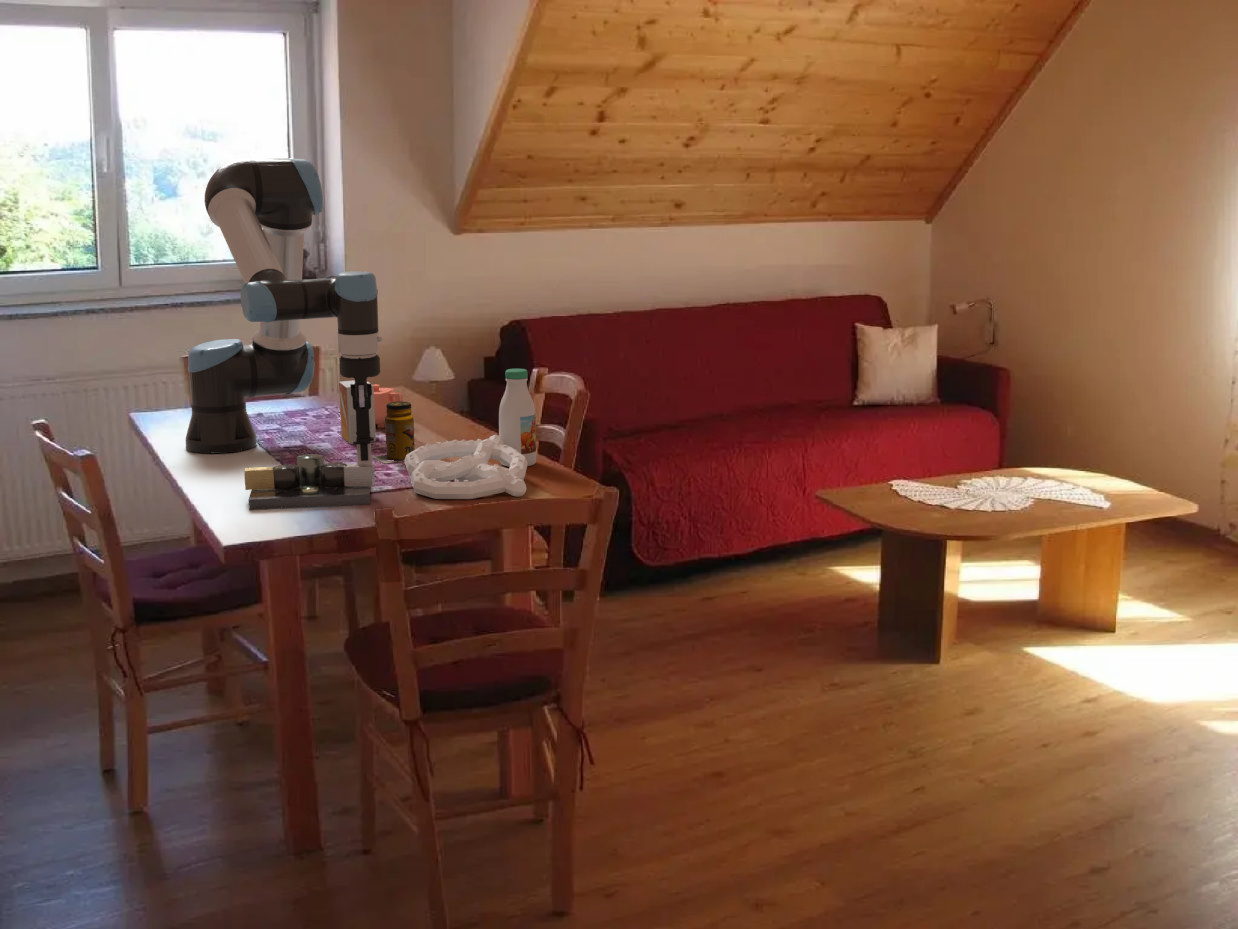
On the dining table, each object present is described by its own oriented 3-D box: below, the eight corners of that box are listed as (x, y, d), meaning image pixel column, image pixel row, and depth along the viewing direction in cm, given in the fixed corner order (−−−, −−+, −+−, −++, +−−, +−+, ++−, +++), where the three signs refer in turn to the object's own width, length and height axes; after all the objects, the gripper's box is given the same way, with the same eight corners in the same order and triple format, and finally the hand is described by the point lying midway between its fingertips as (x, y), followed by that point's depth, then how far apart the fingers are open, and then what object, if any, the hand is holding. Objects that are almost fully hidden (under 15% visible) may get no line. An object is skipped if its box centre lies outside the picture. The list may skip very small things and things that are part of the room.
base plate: (254, 490, 273) (252, 455, 272) (369, 485, 277) (367, 450, 275) (249, 510, 259) (246, 473, 257) (370, 504, 263) (368, 468, 261)
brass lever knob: (246, 485, 268) (245, 466, 267) (300, 482, 269) (299, 464, 269) (244, 491, 263) (243, 472, 262) (299, 489, 265) (298, 470, 264)
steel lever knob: (324, 481, 271) (323, 462, 270) (376, 481, 270) (375, 462, 270) (318, 487, 266) (317, 468, 265) (370, 487, 266) (370, 468, 265)
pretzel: (542, 504, 268) (541, 473, 266) (418, 517, 263) (416, 485, 261) (515, 454, 294) (514, 425, 291) (401, 465, 288) (399, 435, 286)
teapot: (344, 422, 338) (342, 383, 335) (392, 418, 343) (390, 379, 341) (358, 431, 328) (356, 390, 325) (407, 426, 333) (405, 386, 330)
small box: (341, 437, 321) (338, 381, 318) (368, 435, 324) (366, 379, 321) (348, 444, 314) (346, 386, 311) (376, 441, 316) (374, 384, 313)
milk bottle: (508, 469, 290) (506, 374, 285) (494, 462, 297) (492, 368, 292) (542, 465, 293) (541, 371, 289) (527, 458, 300) (526, 365, 295)
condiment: (422, 459, 299) (420, 404, 297) (385, 464, 295) (383, 408, 292) (407, 453, 305) (405, 398, 303) (371, 457, 301) (369, 402, 298)
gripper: (380, 359, 258) (385, 483, 264) (378, 348, 271) (384, 466, 276) (339, 361, 257) (345, 485, 263) (339, 349, 269) (345, 468, 275)
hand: (365, 475), depth 270 cm, fingers closed
